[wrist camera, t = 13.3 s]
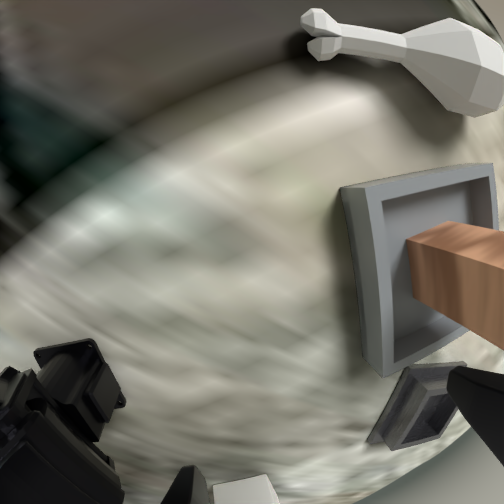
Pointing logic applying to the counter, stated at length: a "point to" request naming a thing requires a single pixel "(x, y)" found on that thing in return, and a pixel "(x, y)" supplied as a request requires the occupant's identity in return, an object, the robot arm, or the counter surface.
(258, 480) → the milk
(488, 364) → the counter surface
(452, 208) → the tray
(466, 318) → the block
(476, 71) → the chicken leg
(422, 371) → the grey square base plate
